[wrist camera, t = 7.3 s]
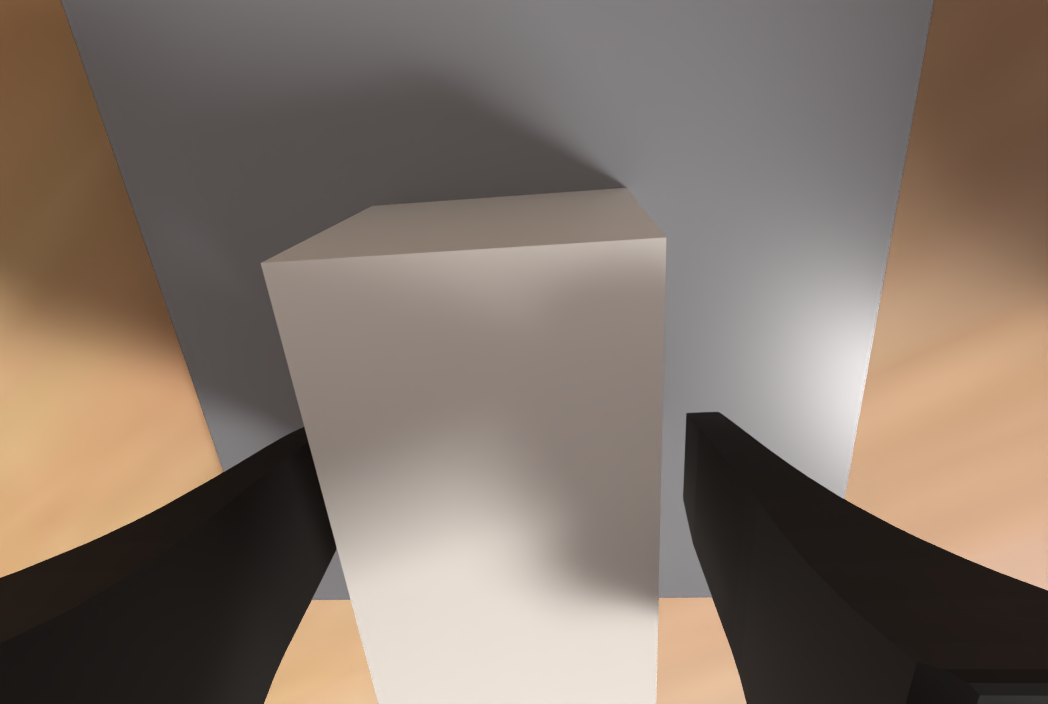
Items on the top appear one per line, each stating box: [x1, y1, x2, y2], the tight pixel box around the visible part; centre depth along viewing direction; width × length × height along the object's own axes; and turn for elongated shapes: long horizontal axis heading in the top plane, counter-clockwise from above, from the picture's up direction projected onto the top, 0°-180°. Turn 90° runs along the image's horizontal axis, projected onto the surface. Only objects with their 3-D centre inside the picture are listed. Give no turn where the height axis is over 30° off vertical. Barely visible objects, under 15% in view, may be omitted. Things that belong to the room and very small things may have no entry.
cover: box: [261, 188, 666, 704], centre depth 11 cm, size 5×10×4 cm, turn 4°
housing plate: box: [61, 0, 934, 600], centre depth 11 cm, size 15×24×2 cm, turn 4°
